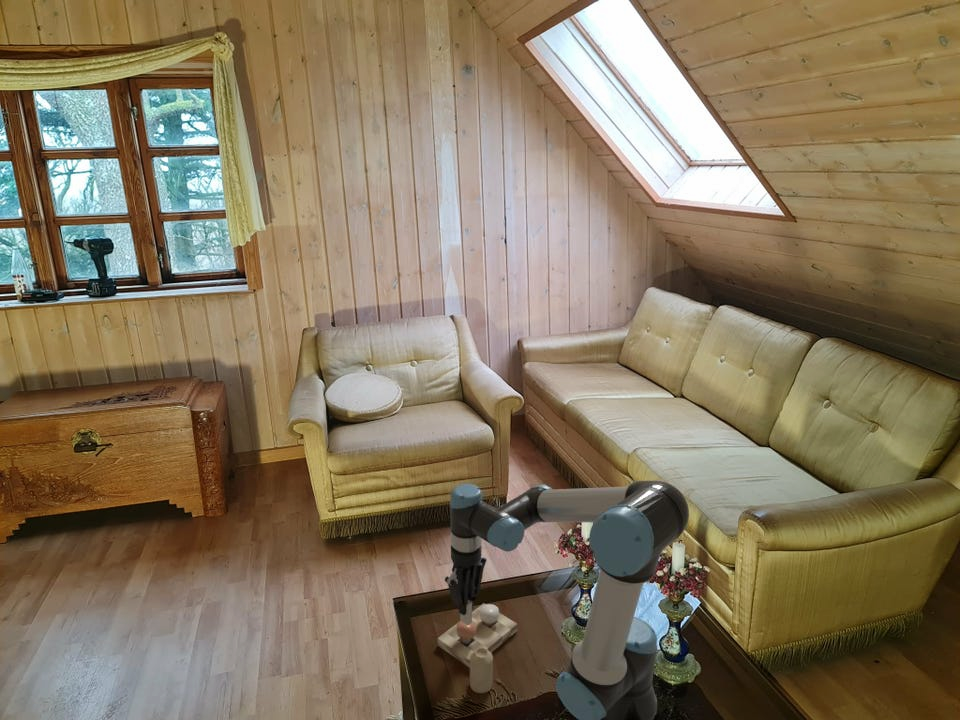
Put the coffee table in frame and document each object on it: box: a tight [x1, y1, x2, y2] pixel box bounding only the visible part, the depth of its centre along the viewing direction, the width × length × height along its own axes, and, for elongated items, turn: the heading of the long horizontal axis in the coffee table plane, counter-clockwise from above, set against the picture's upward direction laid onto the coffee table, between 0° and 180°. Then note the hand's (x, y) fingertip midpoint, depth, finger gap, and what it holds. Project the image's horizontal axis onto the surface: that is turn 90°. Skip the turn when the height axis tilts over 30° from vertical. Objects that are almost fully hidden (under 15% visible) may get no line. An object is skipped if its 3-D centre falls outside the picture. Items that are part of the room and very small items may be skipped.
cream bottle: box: [469, 648, 494, 694], centre depth 172 cm, size 6×6×10 cm
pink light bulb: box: [456, 620, 476, 645], centre depth 184 cm, size 5×5×5 cm
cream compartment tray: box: [437, 602, 518, 669], centre depth 188 cm, size 12×18×2 cm, turn 138°
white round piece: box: [480, 603, 500, 628], centre depth 190 cm, size 5×5×5 cm
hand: (466, 621), depth 182 cm, fingers closed
